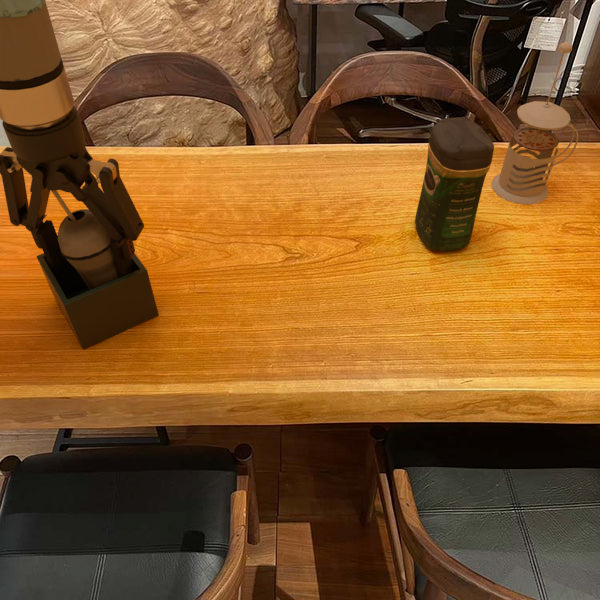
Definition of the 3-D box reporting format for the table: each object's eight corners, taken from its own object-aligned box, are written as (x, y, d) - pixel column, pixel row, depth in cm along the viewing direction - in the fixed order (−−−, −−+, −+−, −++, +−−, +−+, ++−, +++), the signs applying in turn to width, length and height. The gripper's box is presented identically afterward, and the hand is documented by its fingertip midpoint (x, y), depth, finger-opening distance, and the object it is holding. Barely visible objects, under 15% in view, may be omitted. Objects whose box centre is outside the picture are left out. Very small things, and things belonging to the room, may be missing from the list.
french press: (484, 172, 105) (522, 29, 87) (548, 170, 106) (599, 28, 88) (500, 205, 98) (544, 57, 80) (568, 203, 99) (627, 56, 81)
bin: (55, 300, 83) (36, 255, 77) (127, 270, 88) (114, 225, 81) (82, 350, 77) (63, 305, 71) (159, 315, 81) (147, 270, 75)
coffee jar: (476, 251, 90) (506, 145, 77) (426, 257, 89) (448, 150, 76) (454, 213, 97) (479, 109, 84) (408, 218, 96) (426, 113, 83)
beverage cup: (141, 322, 78) (80, 198, 64) (90, 326, 79) (19, 205, 65) (152, 284, 83) (98, 163, 70) (104, 289, 84) (41, 170, 70)
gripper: (151, 104, 62) (181, 261, 78) (-36, 85, 65) (31, 241, 81) (123, 142, 57) (162, 301, 73) (-79, 120, 59) (2, 278, 76)
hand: (93, 269), depth 77 cm, fingers open, 9 cm apart
